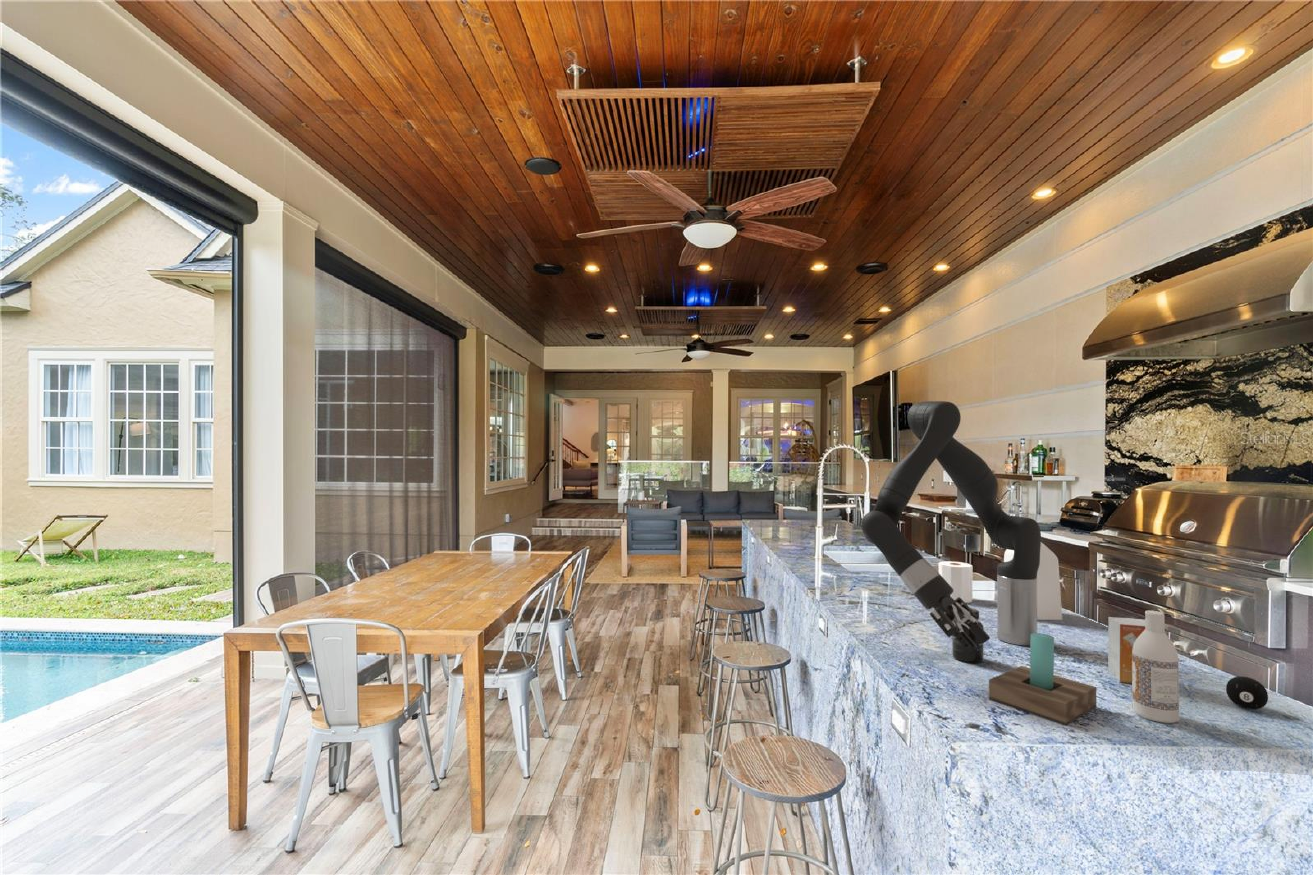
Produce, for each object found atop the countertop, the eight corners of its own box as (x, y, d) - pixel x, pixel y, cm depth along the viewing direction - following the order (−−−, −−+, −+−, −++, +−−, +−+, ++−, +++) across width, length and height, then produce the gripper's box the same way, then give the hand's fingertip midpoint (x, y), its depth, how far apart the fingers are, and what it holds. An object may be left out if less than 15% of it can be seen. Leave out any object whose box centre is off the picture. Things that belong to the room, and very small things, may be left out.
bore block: (1021, 684, 131) (1021, 665, 131) (1096, 707, 120) (1096, 687, 120) (989, 699, 123) (988, 679, 123) (1065, 725, 112) (1065, 703, 112)
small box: (1119, 682, 132) (1119, 623, 133) (1107, 672, 138) (1107, 615, 139) (1164, 687, 130) (1163, 627, 130) (1149, 676, 136) (1149, 619, 136)
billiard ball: (1225, 707, 120) (1225, 677, 120) (1226, 699, 124) (1226, 669, 124) (1268, 717, 116) (1268, 686, 116) (1268, 708, 120) (1267, 677, 120)
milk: (1062, 619, 181) (1061, 533, 181) (1023, 619, 181) (1023, 533, 182) (1037, 609, 193) (1037, 528, 193) (1001, 608, 193) (1001, 527, 194)
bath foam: (1133, 705, 121) (1132, 605, 121) (1178, 715, 116) (1177, 611, 117) (1131, 716, 116) (1131, 612, 116) (1179, 727, 111) (1178, 619, 111)
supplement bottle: (987, 664, 143) (987, 614, 143) (956, 662, 144) (956, 612, 145) (978, 655, 150) (978, 606, 150) (949, 653, 151) (948, 605, 151)
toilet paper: (966, 596, 209) (966, 561, 209) (976, 604, 199) (976, 567, 199) (935, 594, 211) (935, 560, 211) (943, 602, 201) (943, 566, 201)
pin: (1035, 694, 124) (1036, 631, 125) (1056, 701, 121) (1057, 637, 121) (1026, 699, 122) (1026, 635, 122) (1047, 706, 119) (1048, 640, 119)
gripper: (925, 578, 131) (982, 643, 123) (949, 569, 141) (1003, 629, 133) (901, 598, 135) (955, 662, 127) (926, 588, 145) (977, 647, 137)
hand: (980, 645), depth 130 cm, fingers open, 8 cm apart
